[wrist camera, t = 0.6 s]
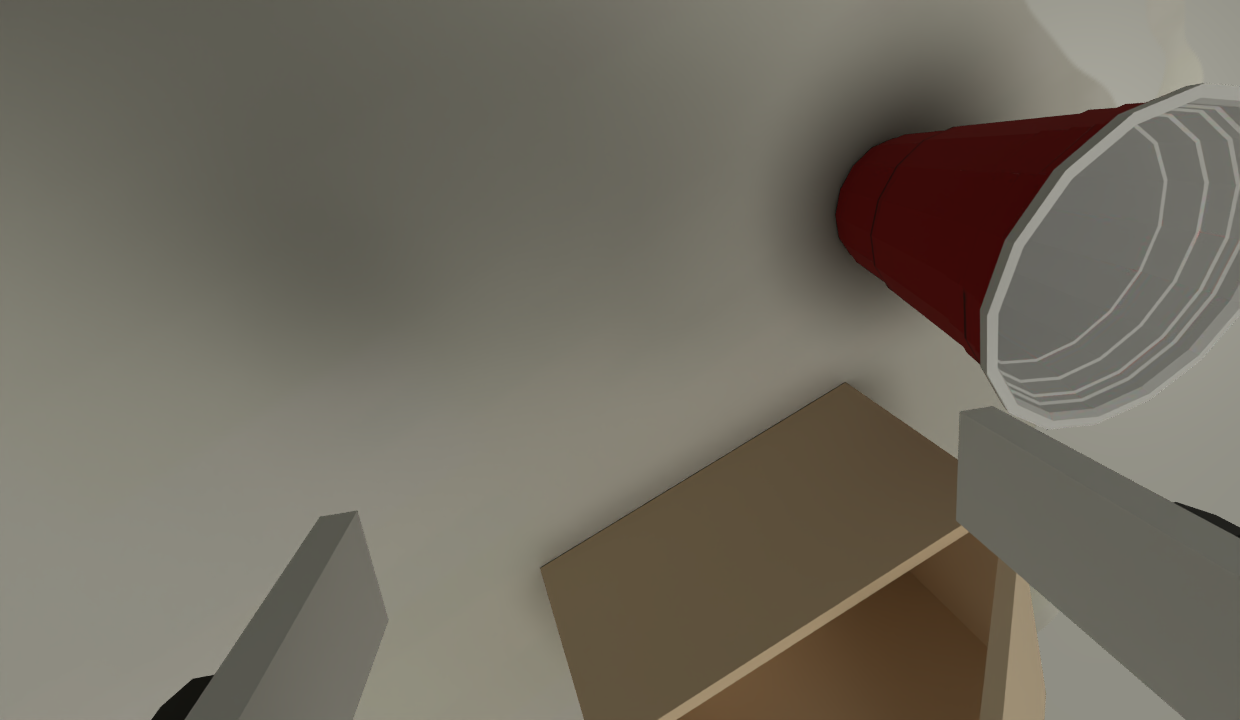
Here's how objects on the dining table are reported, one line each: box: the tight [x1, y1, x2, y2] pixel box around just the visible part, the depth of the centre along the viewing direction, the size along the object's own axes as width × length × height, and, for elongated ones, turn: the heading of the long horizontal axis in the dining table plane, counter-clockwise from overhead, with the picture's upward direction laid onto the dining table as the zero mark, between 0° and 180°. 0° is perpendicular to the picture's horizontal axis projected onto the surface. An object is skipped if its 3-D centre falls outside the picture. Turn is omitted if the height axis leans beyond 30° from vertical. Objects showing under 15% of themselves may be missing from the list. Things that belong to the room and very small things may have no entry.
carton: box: [540, 382, 998, 720], centre depth 31 cm, size 14×18×10 cm
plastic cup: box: [836, 83, 1240, 430], centre depth 24 cm, size 11×11×12 cm
